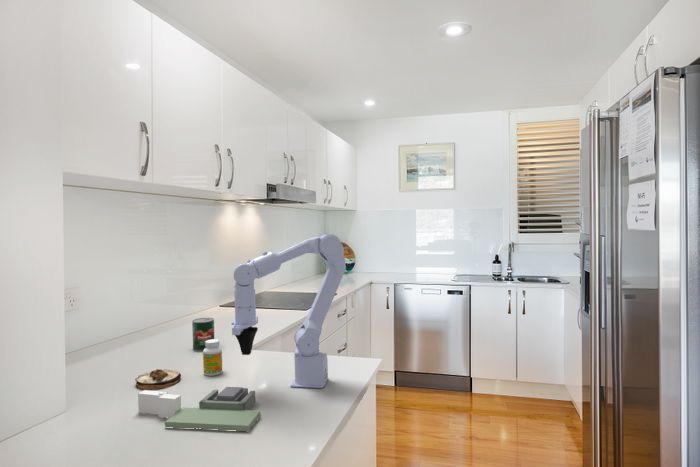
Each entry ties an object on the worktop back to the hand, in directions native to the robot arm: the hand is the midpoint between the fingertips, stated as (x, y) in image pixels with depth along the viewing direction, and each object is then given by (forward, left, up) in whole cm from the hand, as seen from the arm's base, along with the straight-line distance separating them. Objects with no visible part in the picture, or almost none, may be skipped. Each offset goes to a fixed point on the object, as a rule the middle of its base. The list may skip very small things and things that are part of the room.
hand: (246, 354), depth 125 cm
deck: (0, +17, -10) cm, 20 cm away
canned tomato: (+32, -38, -10) cm, 51 cm away
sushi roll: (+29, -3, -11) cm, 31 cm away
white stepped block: (+16, +18, -11) cm, 26 cm away
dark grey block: (0, +12, -10) cm, 16 cm away
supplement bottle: (+16, -12, -10) cm, 22 cm away
